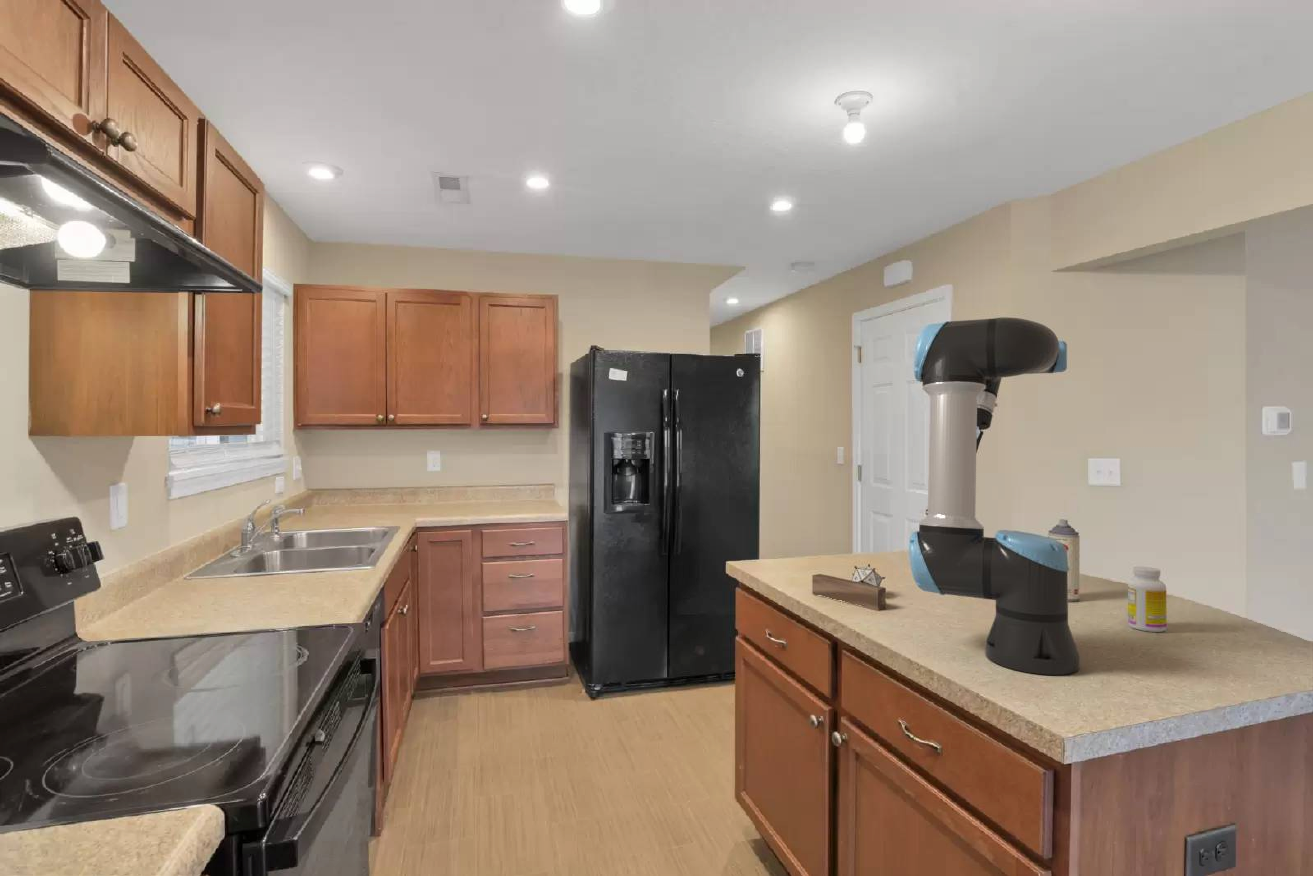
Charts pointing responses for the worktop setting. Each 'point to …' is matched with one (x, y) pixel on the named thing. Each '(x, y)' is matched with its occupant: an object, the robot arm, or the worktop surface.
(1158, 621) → the supplement bottle
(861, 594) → the rail
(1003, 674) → the worktop surface
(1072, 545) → the aerosol can
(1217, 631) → the worktop surface
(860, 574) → the game die
